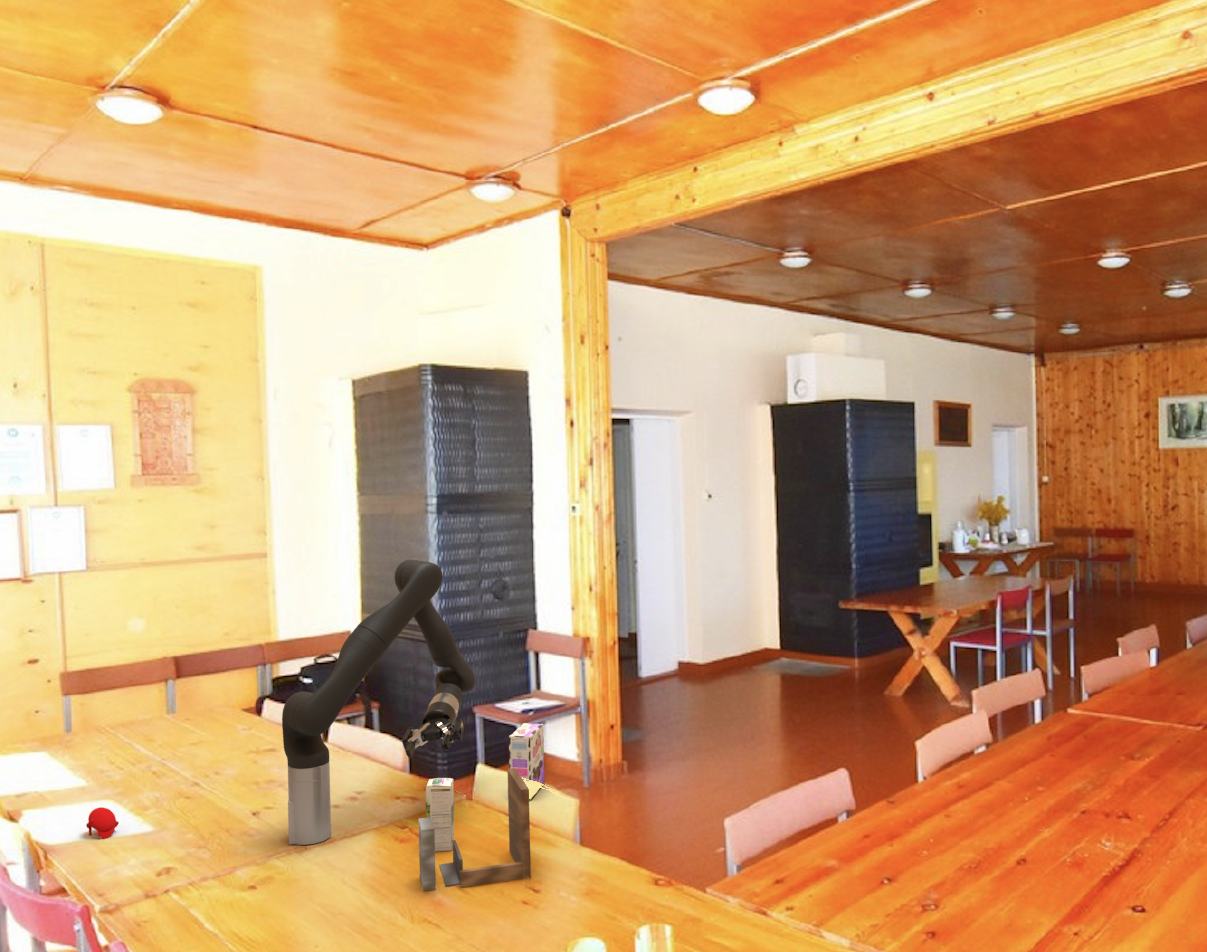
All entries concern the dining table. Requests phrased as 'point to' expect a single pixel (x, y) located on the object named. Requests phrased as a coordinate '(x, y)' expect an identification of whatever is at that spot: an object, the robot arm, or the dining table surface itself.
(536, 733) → the candy box
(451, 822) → the syrup box
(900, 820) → the dining table surface
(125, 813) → the dining table surface
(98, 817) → the cap
